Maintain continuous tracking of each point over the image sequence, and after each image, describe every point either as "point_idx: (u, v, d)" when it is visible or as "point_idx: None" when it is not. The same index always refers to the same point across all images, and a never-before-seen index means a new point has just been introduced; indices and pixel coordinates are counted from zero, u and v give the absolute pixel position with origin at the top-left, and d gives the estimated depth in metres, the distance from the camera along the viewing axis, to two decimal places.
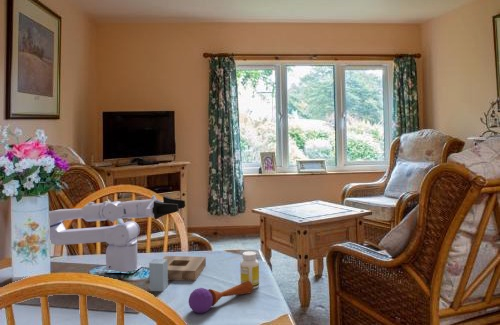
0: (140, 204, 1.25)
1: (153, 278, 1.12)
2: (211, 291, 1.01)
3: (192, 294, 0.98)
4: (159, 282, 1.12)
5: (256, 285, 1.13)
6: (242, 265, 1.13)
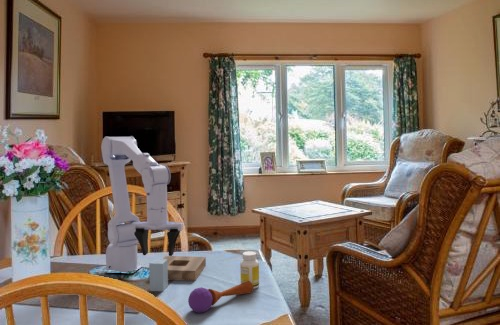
0: (147, 212, 1.11)
1: (153, 278, 1.12)
2: (211, 291, 1.01)
3: (192, 293, 0.98)
4: (159, 283, 1.12)
5: (256, 285, 1.13)
6: (242, 265, 1.13)
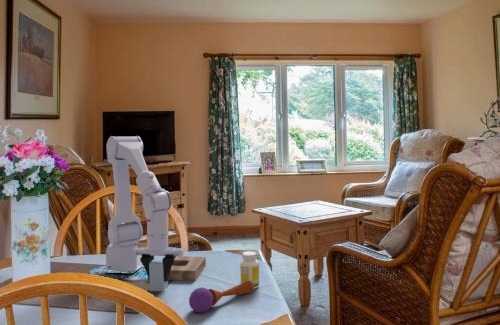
0: (148, 238, 1.12)
1: (153, 278, 1.12)
2: (212, 291, 1.01)
3: (192, 294, 0.98)
4: (159, 282, 1.12)
5: (256, 285, 1.13)
6: (242, 265, 1.13)
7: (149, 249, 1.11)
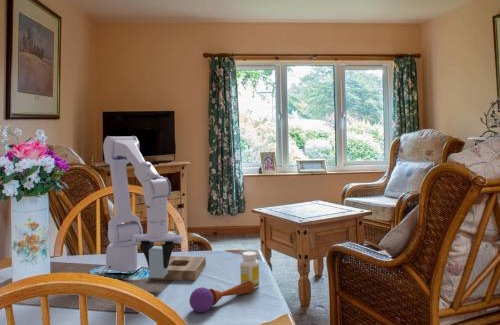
0: (147, 224, 1.11)
1: (153, 265, 1.12)
2: (212, 291, 1.01)
3: (193, 293, 0.98)
4: (158, 269, 1.12)
5: (256, 285, 1.13)
6: (242, 265, 1.13)
7: (149, 235, 1.11)
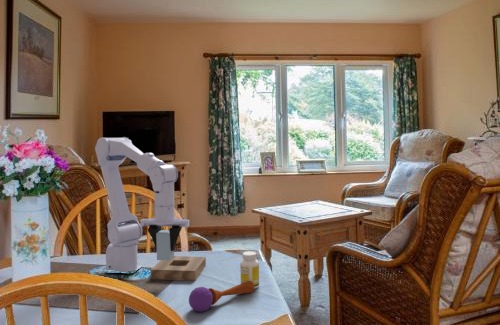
0: (155, 209, 1.16)
1: (160, 248, 1.16)
2: (211, 290, 1.02)
3: (192, 293, 0.98)
4: (166, 252, 1.16)
5: (256, 285, 1.13)
6: (242, 265, 1.13)
7: (156, 219, 1.15)
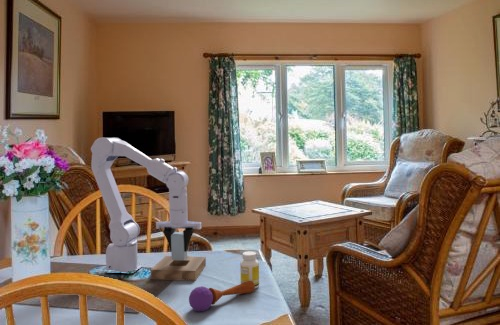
0: (170, 212, 1.25)
1: (175, 248, 1.25)
2: (211, 290, 1.02)
3: (192, 292, 0.99)
4: (180, 252, 1.25)
5: (256, 285, 1.13)
6: (242, 265, 1.13)
7: (171, 222, 1.25)
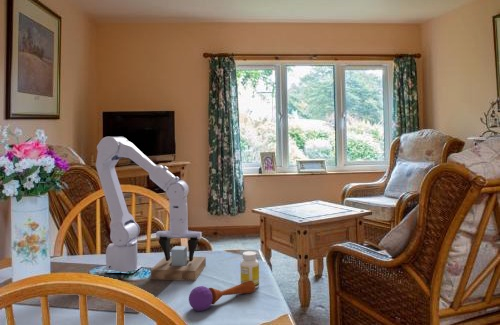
0: (170, 222, 1.25)
1: (175, 263, 1.26)
2: (211, 289, 1.02)
3: (192, 292, 0.99)
4: None
5: (256, 285, 1.13)
6: (242, 265, 1.13)
7: (171, 232, 1.25)
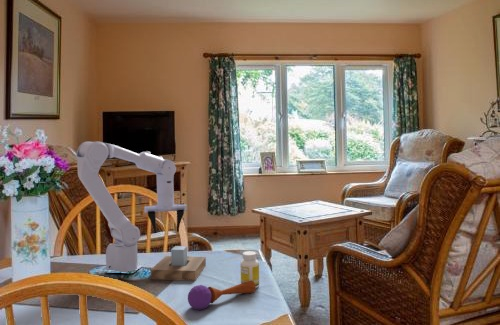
0: (158, 197, 1.36)
1: (175, 263, 1.26)
2: (211, 289, 1.02)
3: (191, 291, 1.00)
4: None
5: (256, 285, 1.13)
6: (242, 265, 1.13)
7: (160, 206, 1.36)
